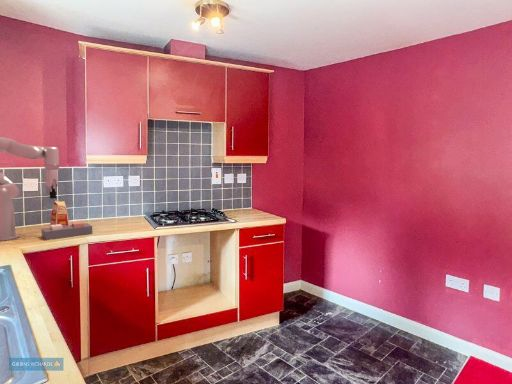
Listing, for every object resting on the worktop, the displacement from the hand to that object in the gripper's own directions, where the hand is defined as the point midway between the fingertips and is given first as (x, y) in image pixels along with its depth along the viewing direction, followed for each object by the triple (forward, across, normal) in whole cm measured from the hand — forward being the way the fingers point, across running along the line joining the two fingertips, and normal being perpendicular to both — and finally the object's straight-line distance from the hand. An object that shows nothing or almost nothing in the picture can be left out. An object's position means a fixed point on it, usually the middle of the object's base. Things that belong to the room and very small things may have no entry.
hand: (53, 198), depth 223 cm
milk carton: (+24, -17, +7) cm, 30 cm away
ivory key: (+22, +1, +1) cm, 22 cm away
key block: (+23, +1, +7) cm, 24 cm away
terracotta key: (+21, +1, +13) cm, 25 cm away
